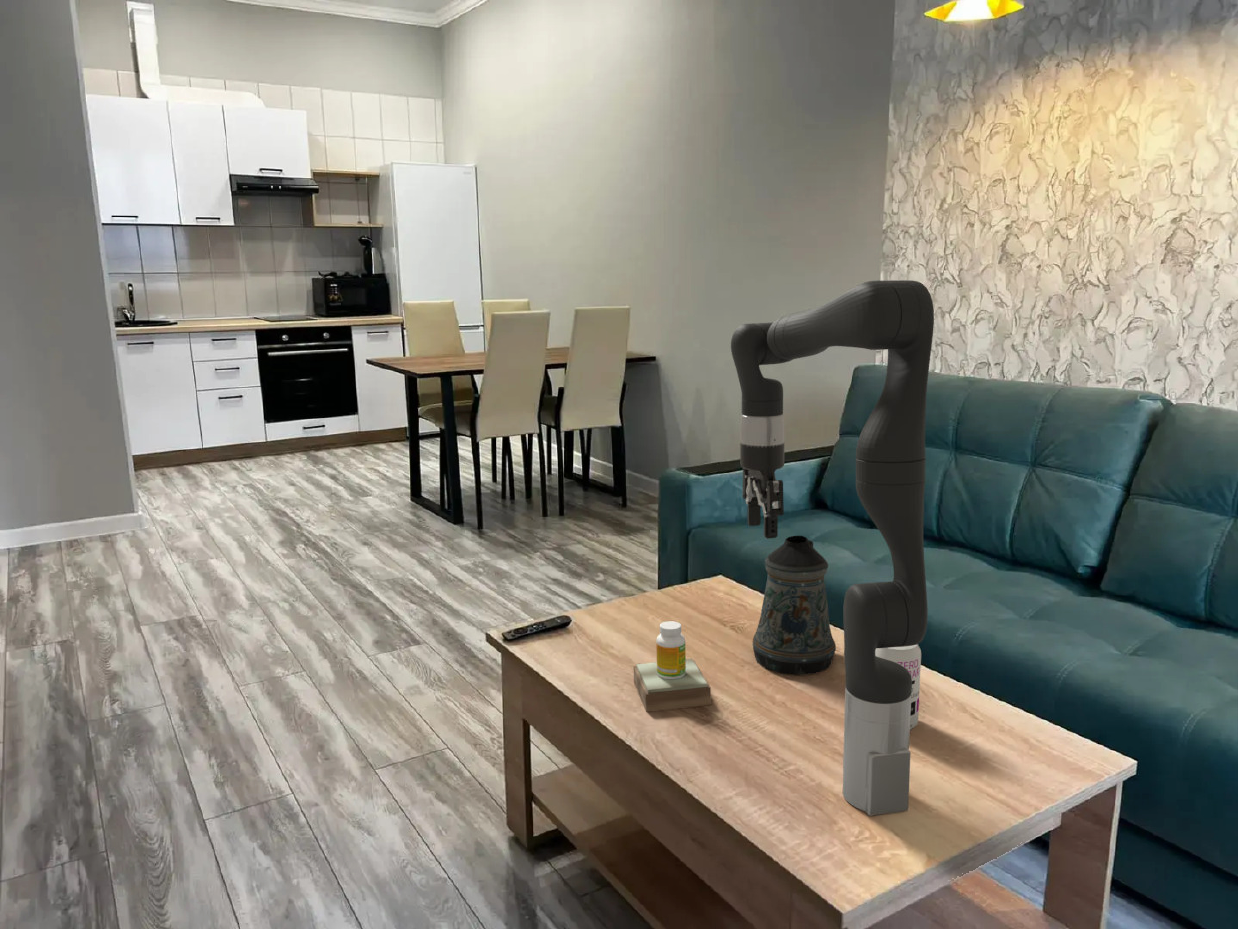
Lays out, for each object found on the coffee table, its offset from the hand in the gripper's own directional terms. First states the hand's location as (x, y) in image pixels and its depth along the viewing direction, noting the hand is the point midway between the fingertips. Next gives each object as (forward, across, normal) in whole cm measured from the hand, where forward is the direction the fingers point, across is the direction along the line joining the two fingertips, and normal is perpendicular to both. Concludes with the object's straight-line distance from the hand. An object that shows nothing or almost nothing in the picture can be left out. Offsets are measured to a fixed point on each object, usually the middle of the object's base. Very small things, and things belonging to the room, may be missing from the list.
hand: (762, 531), depth 154 cm
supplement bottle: (+29, +7, +15) cm, 33 cm away
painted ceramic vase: (+32, +18, -13) cm, 39 cm away
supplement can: (+33, -12, -20) cm, 40 cm away
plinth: (+32, +8, +15) cm, 37 cm away
